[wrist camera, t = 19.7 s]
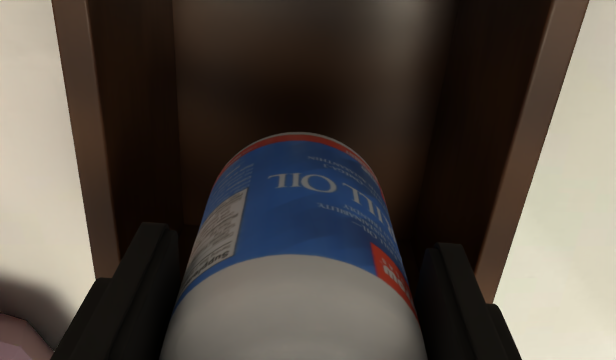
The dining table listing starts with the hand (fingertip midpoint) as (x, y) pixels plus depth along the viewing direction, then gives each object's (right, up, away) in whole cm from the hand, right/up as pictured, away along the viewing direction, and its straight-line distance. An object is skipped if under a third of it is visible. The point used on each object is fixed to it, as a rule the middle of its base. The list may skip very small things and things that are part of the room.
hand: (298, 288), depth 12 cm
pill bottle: (0, +2, +5) cm, 5 cm away
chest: (0, +6, +11) cm, 13 cm away
